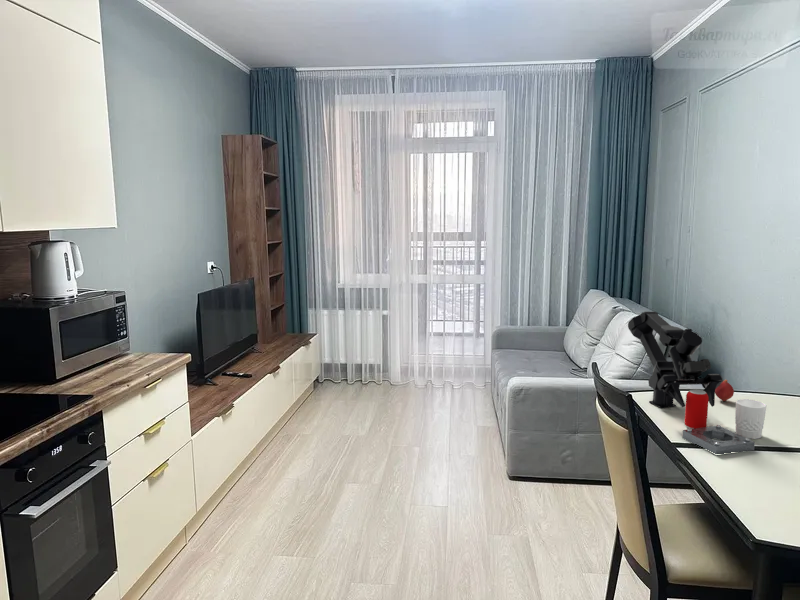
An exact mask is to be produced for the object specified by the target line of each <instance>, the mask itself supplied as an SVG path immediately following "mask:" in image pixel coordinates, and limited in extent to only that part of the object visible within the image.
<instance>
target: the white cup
mask: <svg viewBox="0 0 800 600" xmlns="http://www.w3.org/2000/svg"><path fill="white" fill-rule="evenodd" d="M766 411H767V404H766V403H764V402H762V401H760V400H755V399H749V398H748V399H747V398H739V399H737V400H735V415H734V416H735V418H734V419H735V420H734V421H735V431H734V433H736V434H739V435H741V436H743V437H745V438H749V439H750V440H757V439H758V440H759V439H761V438H762V435H763V429H764V424H765V420H766V419H765V418H766V414H767V413H766Z"/></svg>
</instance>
